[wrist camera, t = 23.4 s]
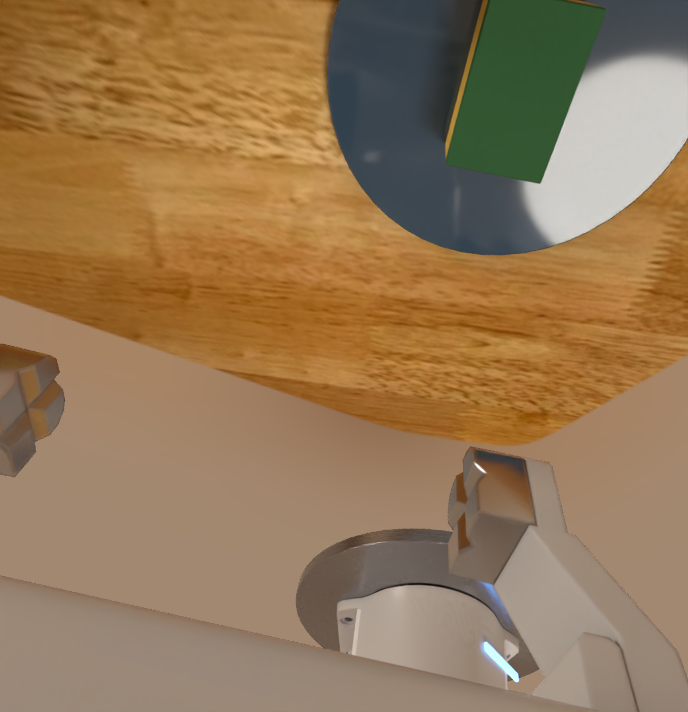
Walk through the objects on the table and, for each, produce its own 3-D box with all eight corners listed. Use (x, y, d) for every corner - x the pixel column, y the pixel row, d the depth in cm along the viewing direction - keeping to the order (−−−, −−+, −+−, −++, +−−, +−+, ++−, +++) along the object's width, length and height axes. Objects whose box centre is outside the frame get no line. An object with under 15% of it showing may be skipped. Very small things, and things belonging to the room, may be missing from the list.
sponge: (531, 161, 28) (540, 184, 26) (445, 144, 28) (445, 165, 26) (588, 2, 24) (607, 8, 21) (487, -18, 24) (492, -14, 21)
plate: (612, 277, 32) (615, 283, 32) (310, 216, 33) (308, 221, 32) (817, -128, 21) (828, -130, 21) (361, -211, 22) (359, -216, 21)
